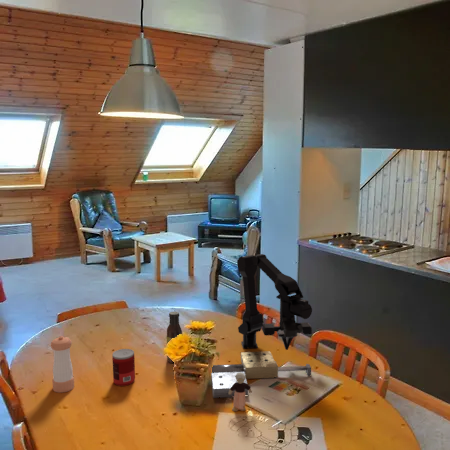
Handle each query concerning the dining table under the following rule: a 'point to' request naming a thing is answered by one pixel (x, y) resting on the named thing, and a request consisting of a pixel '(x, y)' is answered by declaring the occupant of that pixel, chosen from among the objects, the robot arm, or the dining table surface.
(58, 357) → the pepper shaker
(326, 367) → the dining table surface
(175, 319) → the sauce bottle
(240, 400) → the grandmother figurine
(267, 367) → the beige block with rivets
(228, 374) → the fixed leaf
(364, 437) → the dining table surface
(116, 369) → the canned food
